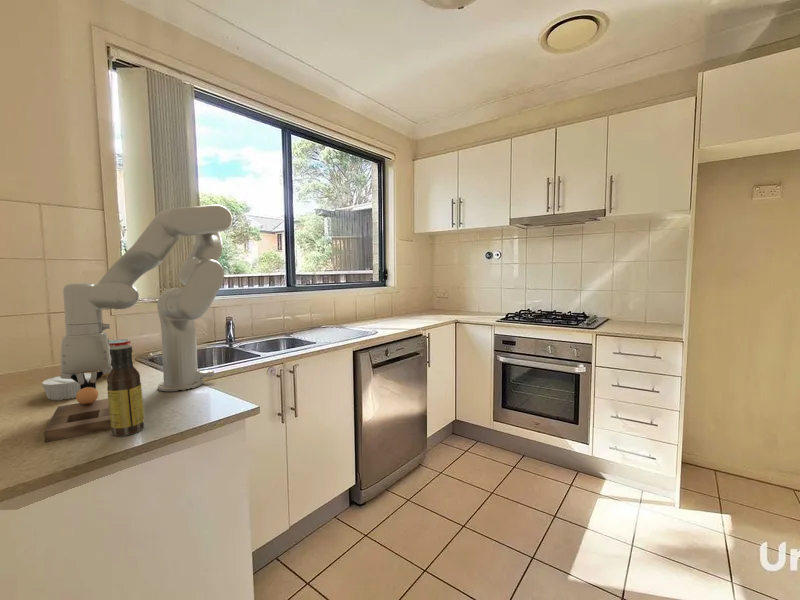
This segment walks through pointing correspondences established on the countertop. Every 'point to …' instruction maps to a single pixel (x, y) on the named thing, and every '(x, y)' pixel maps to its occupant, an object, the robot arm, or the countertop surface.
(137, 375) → the sauce bottle
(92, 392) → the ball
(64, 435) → the board
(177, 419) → the countertop surface
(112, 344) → the canned food
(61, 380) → the ramekin
